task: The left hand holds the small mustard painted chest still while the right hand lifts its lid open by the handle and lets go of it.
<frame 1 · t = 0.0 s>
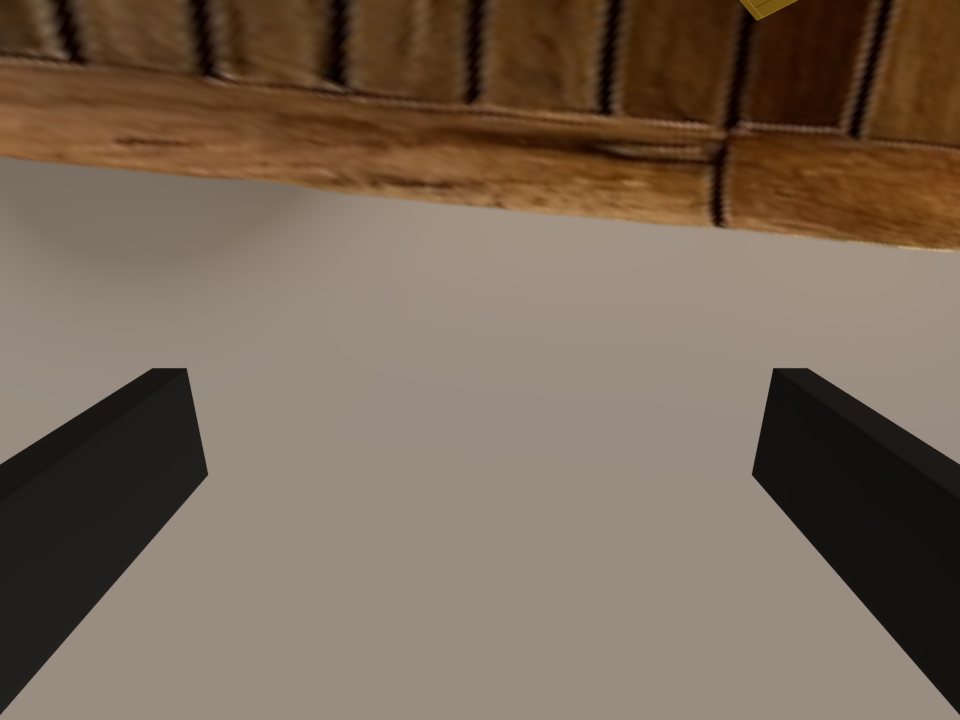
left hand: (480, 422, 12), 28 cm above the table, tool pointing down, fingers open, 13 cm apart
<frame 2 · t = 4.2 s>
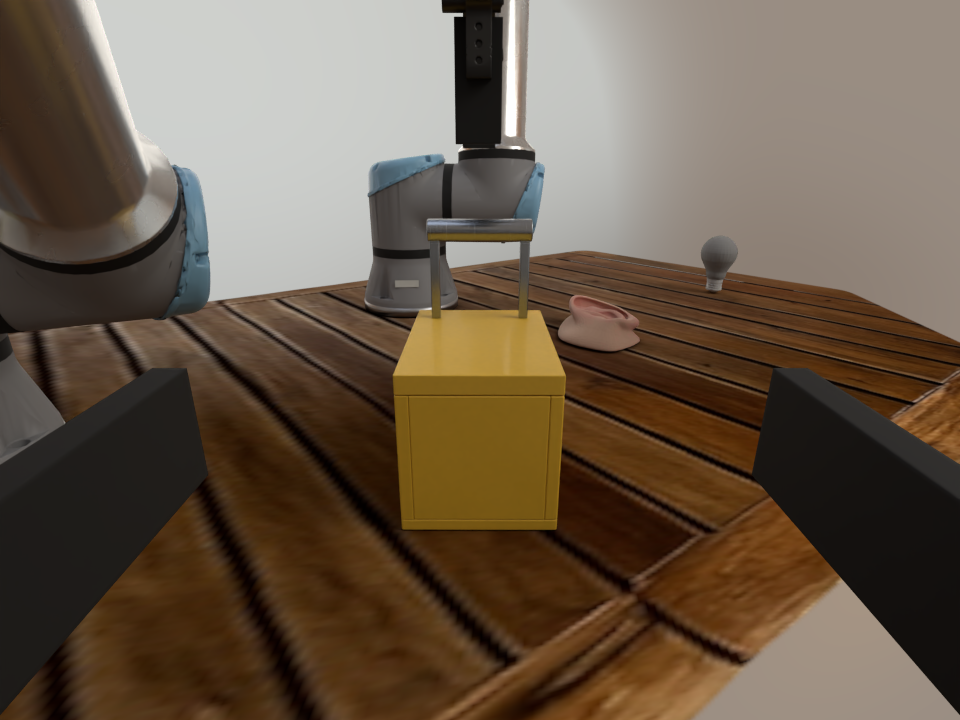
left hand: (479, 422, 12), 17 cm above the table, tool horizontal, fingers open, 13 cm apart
lid: (479, 292, 37), point 14 cm above the table, hinge at 0.0°
chest: (479, 471, 42), on the table
anatomical model: (597, 336, 74), on the table
light bulb: (712, 292, 99), on the table
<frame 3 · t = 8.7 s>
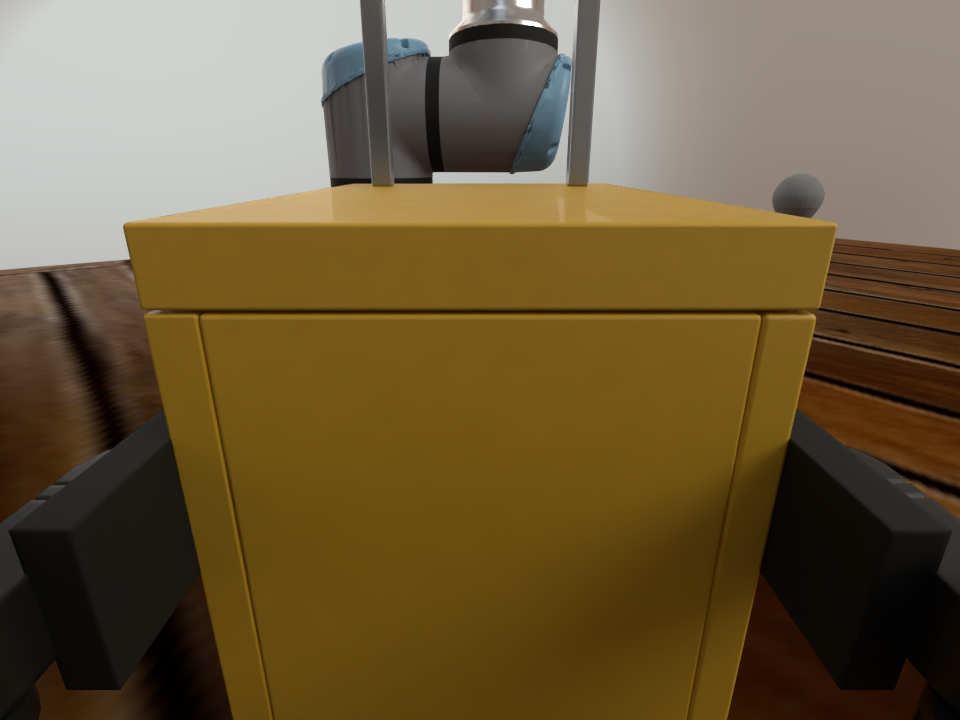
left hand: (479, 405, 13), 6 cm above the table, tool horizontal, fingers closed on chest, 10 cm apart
lid: (480, 59, 13), point 14 cm above the table, hinge at 0.0°
chest: (480, 536, 18), on the table, touching left hand
light bulb: (787, 251, 75), on the table
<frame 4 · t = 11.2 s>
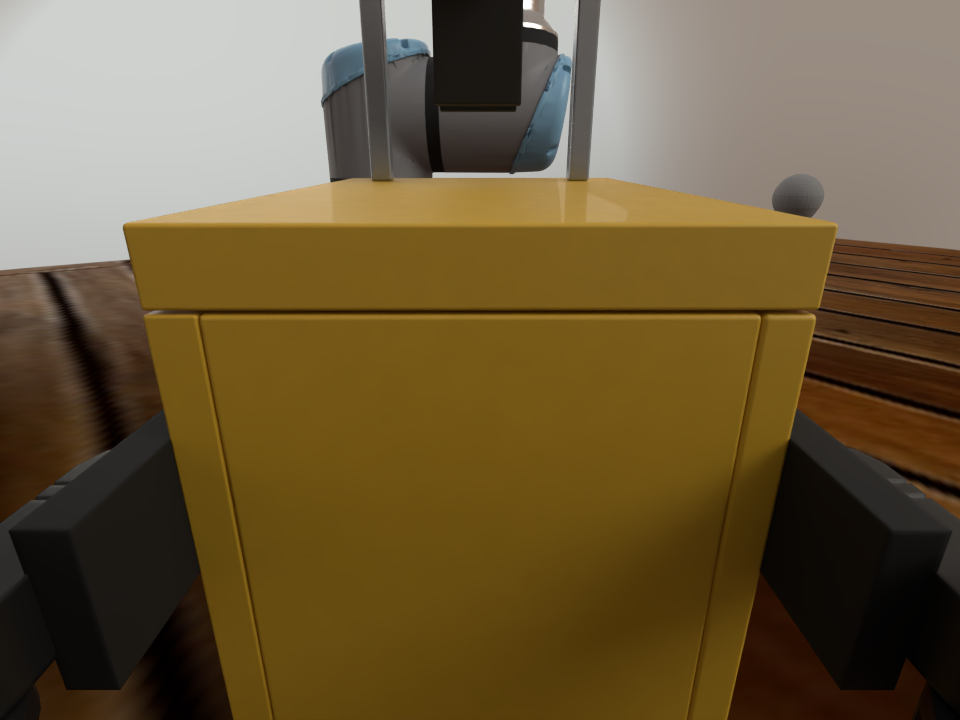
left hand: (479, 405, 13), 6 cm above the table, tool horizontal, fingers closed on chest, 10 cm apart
lid: (480, 54, 13), point 14 cm above the table, hinge at 0.9°, touching right hand
chest: (480, 536, 18), on the table, touching left hand
light bulb: (786, 251, 75), on the table
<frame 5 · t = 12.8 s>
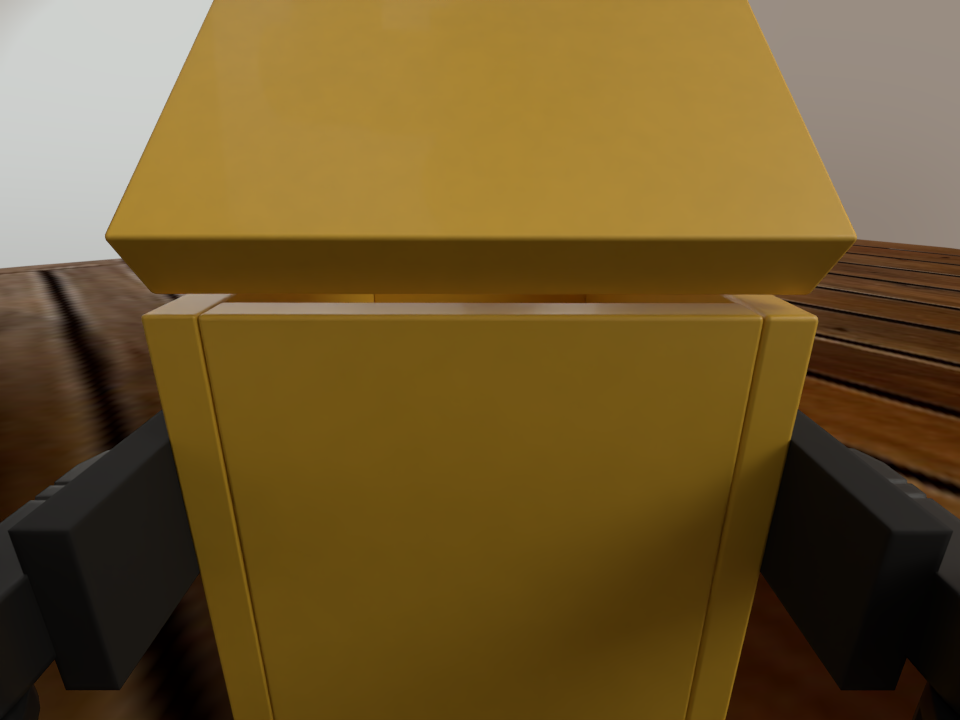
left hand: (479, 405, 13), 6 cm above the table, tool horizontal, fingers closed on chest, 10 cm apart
chest: (479, 534, 18), on the table, touching left hand
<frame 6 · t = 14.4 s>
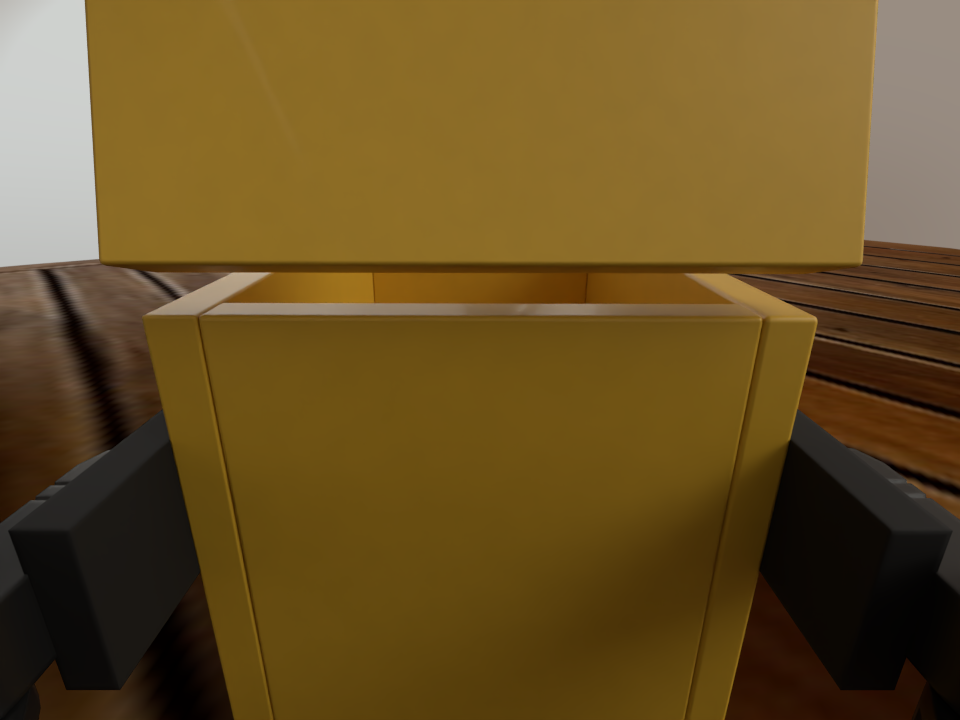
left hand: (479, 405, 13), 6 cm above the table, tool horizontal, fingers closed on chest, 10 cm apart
chest: (479, 534, 18), on the table, touching left hand
when the left hand's fingers open (6 cm above the table, at t = 18.9 s): chest stays where it is, on the table.
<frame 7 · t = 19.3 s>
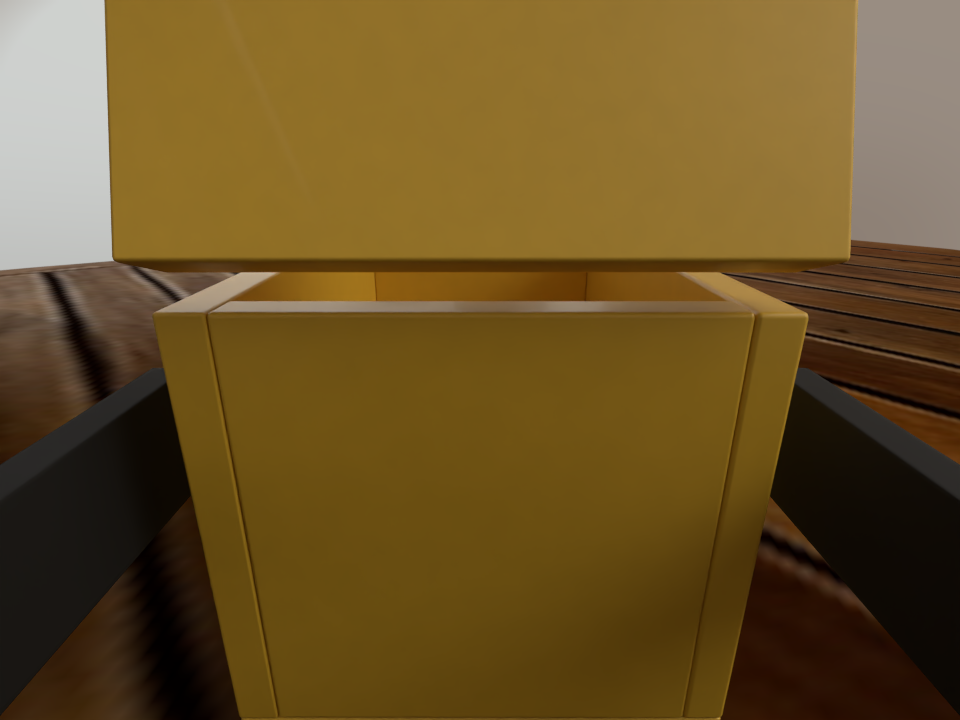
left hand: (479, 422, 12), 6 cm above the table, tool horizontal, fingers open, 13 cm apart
chest: (480, 533, 18), on the table
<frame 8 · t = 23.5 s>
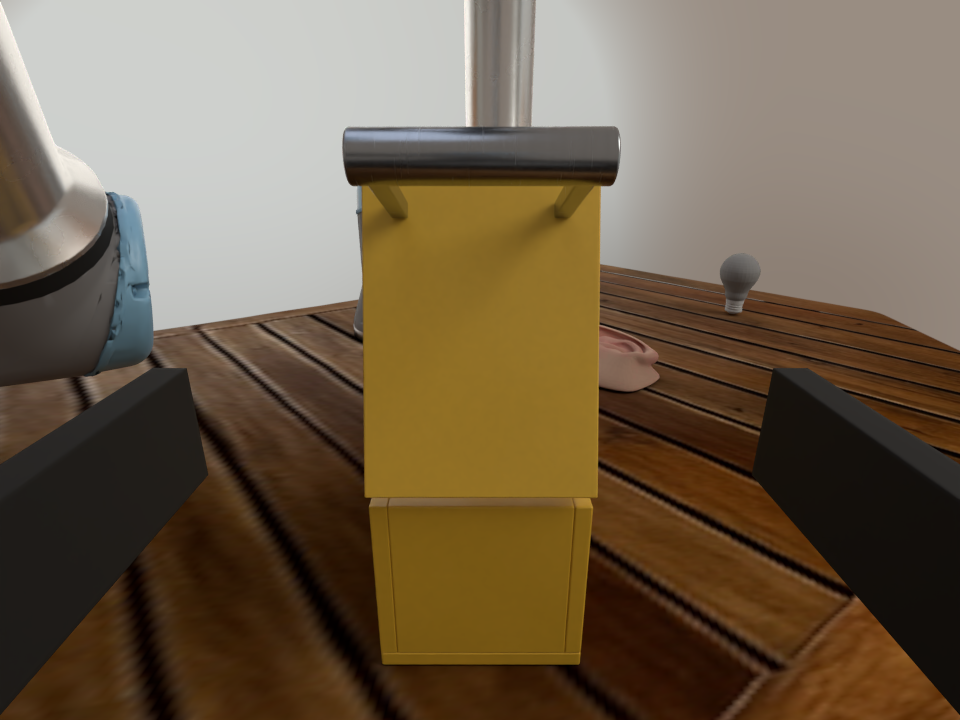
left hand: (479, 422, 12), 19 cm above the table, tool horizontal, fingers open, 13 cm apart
lid: (481, 328, 20), point 18 cm above the table, hinge at 72.4°
chest: (480, 567, 34), on the table
anatomical model: (611, 370, 66), on the table
light bulb: (732, 314, 91), on the table
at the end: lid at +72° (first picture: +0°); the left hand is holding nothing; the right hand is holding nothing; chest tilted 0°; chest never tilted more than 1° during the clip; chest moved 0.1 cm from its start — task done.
